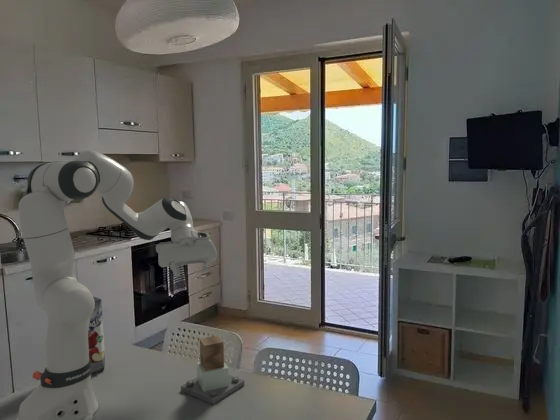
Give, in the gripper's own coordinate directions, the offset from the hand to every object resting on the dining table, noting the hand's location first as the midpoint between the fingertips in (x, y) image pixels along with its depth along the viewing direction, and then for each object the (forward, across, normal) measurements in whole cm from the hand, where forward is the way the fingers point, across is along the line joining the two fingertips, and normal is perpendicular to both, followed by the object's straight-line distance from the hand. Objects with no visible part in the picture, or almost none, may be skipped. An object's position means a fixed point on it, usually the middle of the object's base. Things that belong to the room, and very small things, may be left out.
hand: (191, 273), depth 150 cm
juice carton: (+15, -34, +32) cm, 50 cm away
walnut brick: (+30, +2, +6) cm, 31 cm away
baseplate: (+35, +2, +12) cm, 37 cm away
